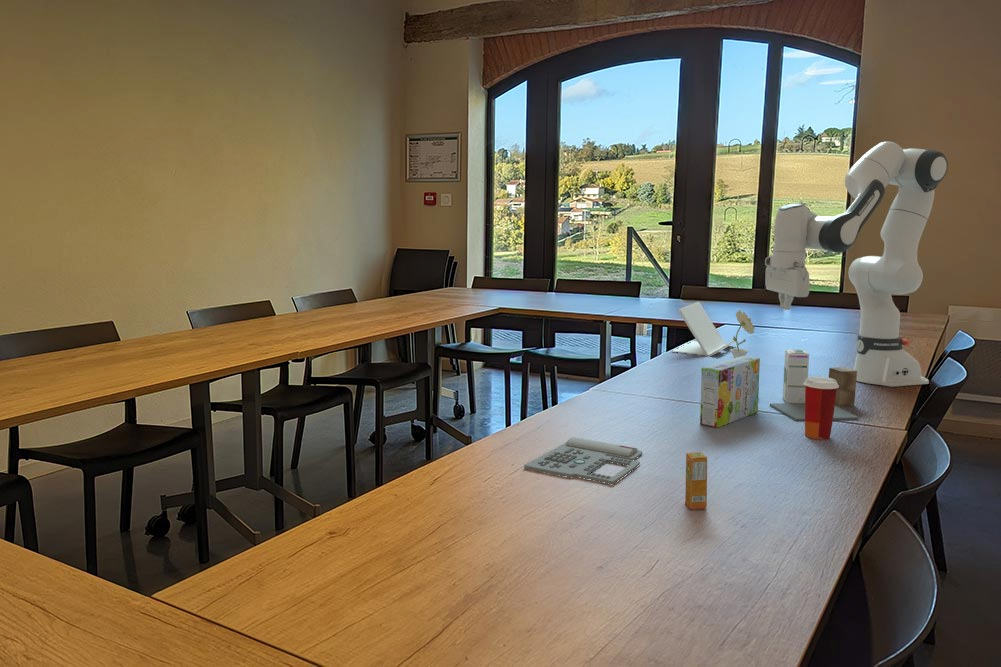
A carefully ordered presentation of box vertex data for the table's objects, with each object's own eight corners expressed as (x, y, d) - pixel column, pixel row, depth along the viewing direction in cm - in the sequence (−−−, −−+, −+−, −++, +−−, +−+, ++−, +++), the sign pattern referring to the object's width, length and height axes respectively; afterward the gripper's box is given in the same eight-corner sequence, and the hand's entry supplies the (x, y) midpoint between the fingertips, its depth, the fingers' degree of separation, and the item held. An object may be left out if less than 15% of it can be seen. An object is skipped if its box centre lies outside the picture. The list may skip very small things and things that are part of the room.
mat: (828, 404, 210) (828, 402, 210) (858, 419, 196) (858, 417, 196) (769, 405, 209) (769, 403, 209) (795, 421, 194) (795, 418, 194)
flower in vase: (759, 403, 212) (765, 314, 208) (717, 400, 214) (722, 313, 210) (754, 391, 224) (759, 308, 220) (714, 389, 227) (718, 307, 223)
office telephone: (573, 432, 178) (654, 446, 168) (573, 442, 178) (654, 457, 168) (523, 458, 159) (611, 476, 148) (523, 470, 159) (611, 489, 149)
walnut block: (841, 401, 214) (844, 366, 212) (854, 405, 209) (857, 370, 207) (826, 402, 213) (829, 367, 211) (838, 407, 208) (841, 371, 206)
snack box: (739, 408, 206) (742, 354, 204) (758, 412, 202) (762, 357, 200) (697, 424, 191) (700, 366, 189) (717, 429, 187) (721, 369, 185)
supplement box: (682, 503, 141) (685, 451, 139) (700, 502, 141) (703, 451, 139) (688, 510, 137) (691, 457, 136) (707, 509, 138) (709, 457, 136)
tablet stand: (670, 352, 284) (672, 308, 281) (690, 342, 305) (692, 300, 302) (719, 357, 275) (721, 311, 272) (735, 346, 296) (738, 303, 293)
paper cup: (833, 433, 184) (837, 377, 181) (836, 442, 177) (840, 384, 174) (798, 430, 186) (802, 375, 184) (800, 439, 179) (804, 381, 177)
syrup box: (807, 404, 210) (810, 353, 208) (784, 403, 212) (788, 352, 209) (803, 399, 216) (806, 349, 213) (781, 398, 217) (784, 348, 215)
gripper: (817, 264, 206) (813, 314, 208) (782, 258, 226) (779, 304, 228) (795, 264, 205) (791, 314, 208) (762, 258, 226) (759, 304, 228)
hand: (785, 309), depth 218 cm, fingers closed
